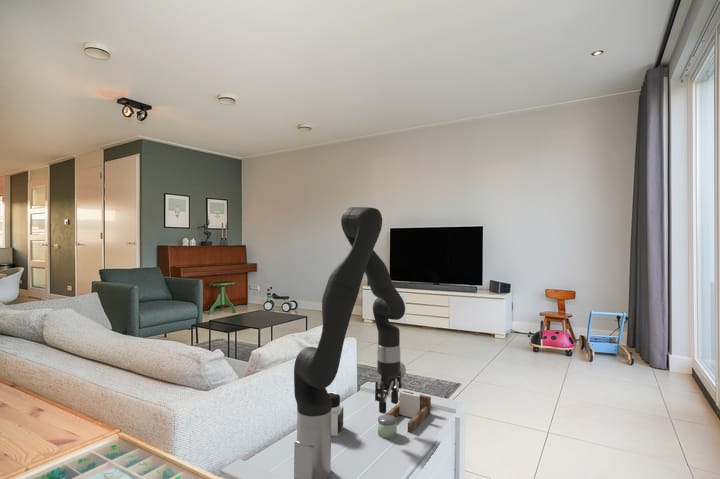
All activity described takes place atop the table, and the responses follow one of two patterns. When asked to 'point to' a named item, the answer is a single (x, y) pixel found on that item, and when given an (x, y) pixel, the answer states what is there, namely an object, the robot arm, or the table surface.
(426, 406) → the lane
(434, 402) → the table surface
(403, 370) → the lollipop
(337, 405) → the medicine bottle
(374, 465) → the table surface
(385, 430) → the jar
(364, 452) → the table surface
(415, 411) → the pusher plate
